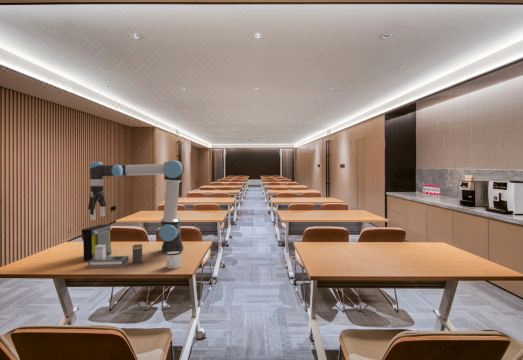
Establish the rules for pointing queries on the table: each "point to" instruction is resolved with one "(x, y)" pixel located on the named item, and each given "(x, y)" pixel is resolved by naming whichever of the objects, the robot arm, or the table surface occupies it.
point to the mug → (173, 259)
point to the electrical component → (96, 240)
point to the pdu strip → (109, 262)
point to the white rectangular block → (100, 252)
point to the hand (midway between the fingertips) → (97, 218)
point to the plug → (137, 253)
